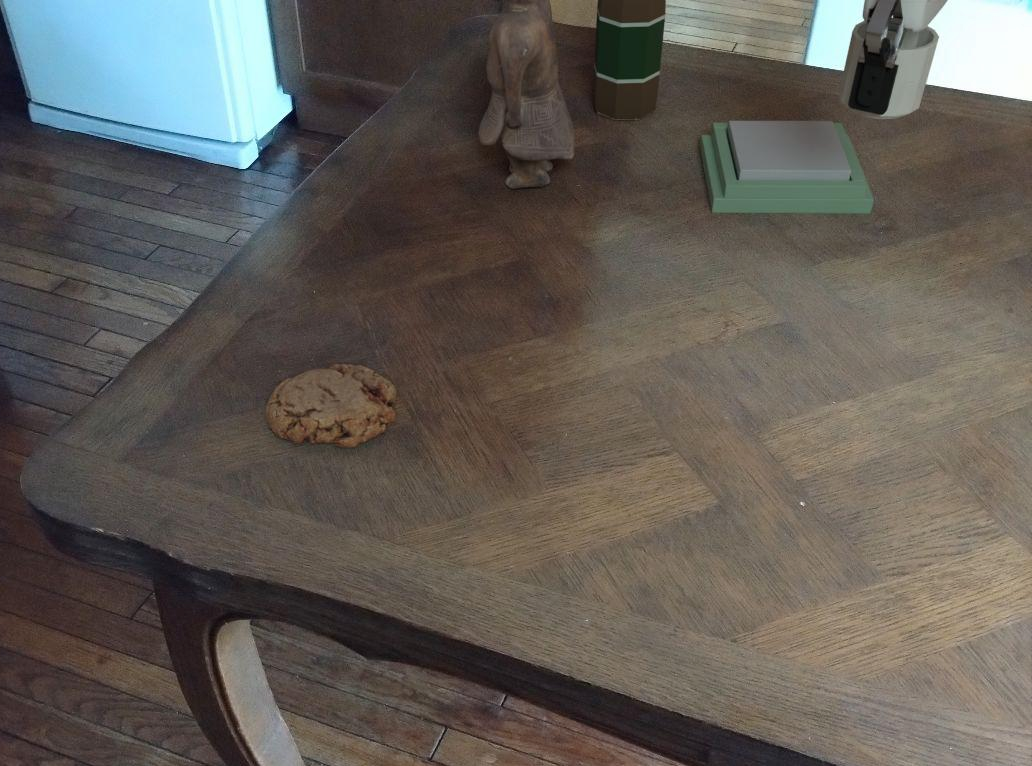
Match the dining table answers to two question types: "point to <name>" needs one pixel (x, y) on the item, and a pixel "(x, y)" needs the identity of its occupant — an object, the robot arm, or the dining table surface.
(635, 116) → the beer bottle
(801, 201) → the scale
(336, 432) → the cookie
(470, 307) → the dining table surface
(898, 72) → the cup
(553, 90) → the clay figurine
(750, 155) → the pan
